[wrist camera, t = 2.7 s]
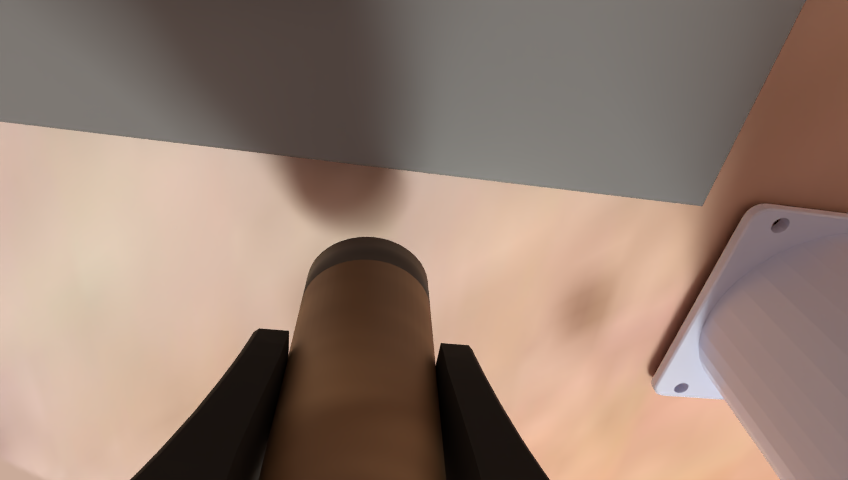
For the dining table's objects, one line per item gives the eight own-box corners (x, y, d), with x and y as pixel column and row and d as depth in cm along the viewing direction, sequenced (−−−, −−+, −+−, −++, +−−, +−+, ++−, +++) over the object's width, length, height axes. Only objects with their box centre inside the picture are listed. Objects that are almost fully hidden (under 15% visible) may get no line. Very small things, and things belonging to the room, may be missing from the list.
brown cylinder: (436, 243, 13) (500, 713, 5) (418, 337, 15) (445, 794, 7) (309, 230, 12) (176, 717, 5) (305, 327, 14) (201, 804, 7)
